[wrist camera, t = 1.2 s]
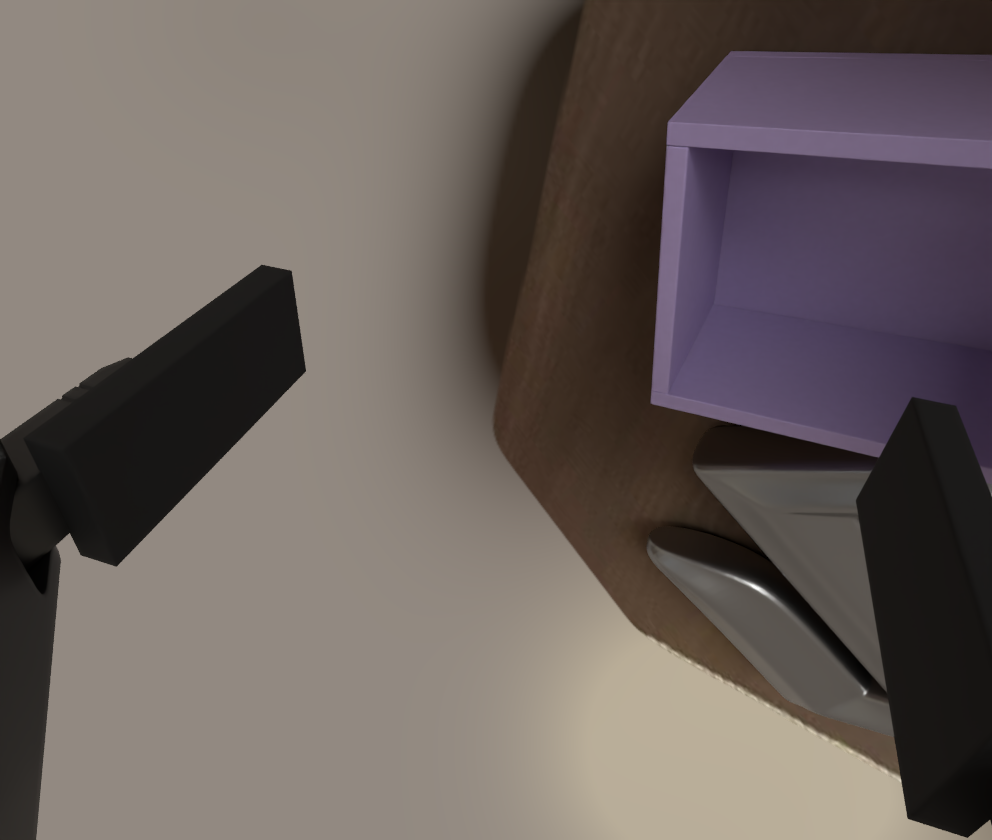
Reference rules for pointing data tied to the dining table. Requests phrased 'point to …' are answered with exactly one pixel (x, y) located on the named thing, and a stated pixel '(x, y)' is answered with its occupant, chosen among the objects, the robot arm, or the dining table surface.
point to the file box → (829, 246)
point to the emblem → (787, 569)
